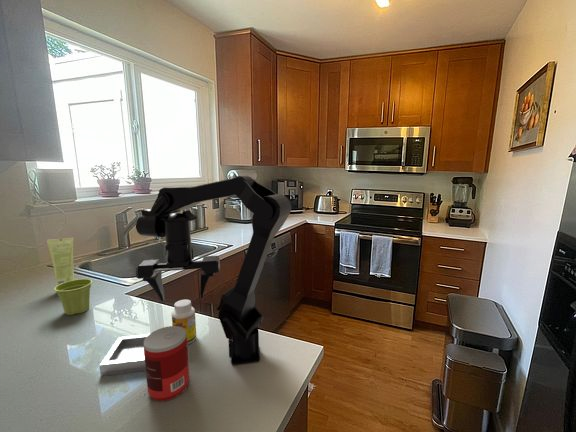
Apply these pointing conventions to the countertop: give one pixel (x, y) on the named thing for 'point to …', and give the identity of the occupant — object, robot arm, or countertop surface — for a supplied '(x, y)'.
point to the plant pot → (74, 295)
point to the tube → (62, 259)
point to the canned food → (166, 362)
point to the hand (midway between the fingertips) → (182, 299)
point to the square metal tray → (125, 356)
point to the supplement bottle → (185, 318)
